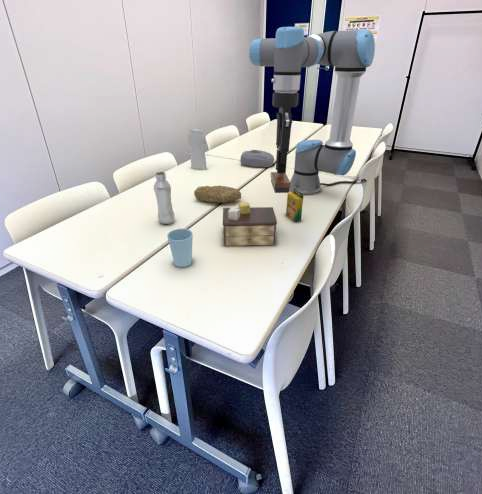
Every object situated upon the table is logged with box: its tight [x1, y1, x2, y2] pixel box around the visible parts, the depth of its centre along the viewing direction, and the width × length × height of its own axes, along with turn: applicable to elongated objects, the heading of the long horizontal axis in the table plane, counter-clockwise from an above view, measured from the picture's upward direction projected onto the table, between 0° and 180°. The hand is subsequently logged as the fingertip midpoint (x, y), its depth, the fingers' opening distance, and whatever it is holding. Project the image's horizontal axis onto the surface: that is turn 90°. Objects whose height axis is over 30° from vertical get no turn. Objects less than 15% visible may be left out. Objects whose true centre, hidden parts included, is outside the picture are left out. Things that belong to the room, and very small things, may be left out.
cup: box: [166, 228, 194, 268], centre depth 101 cm, size 8×8×10 cm
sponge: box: [193, 185, 242, 204], centre depth 144 cm, size 13×8×20 cm
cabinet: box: [222, 206, 278, 247], centre depth 115 cm, size 18×14×9 cm
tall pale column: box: [187, 128, 207, 171], centre depth 181 cm, size 11×4×22 cm, turn 68°
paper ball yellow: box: [238, 201, 251, 214], centre depth 114 cm, size 4×4×3 cm
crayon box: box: [285, 188, 304, 223], centre depth 128 cm, size 7×3×12 cm, turn 23°
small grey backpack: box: [239, 149, 275, 168], centre depth 191 cm, size 15×8×20 cm
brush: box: [270, 147, 291, 194], centre depth 104 cm, size 5×11×13 cm, turn 2°
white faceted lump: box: [228, 207, 240, 220], centre depth 110 cm, size 4×4×3 cm
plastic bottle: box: [153, 171, 176, 225], centre depth 123 cm, size 6×7×20 cm
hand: (280, 171), depth 105 cm, fingers closed on brush, 2 cm apart
